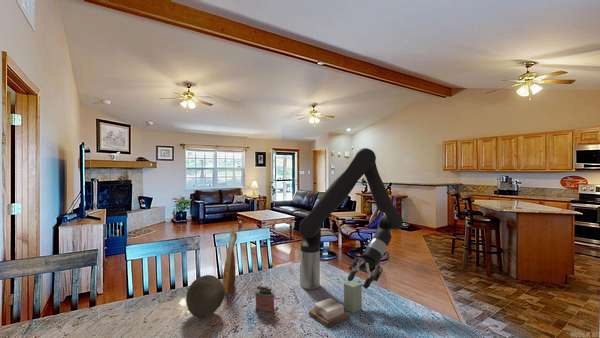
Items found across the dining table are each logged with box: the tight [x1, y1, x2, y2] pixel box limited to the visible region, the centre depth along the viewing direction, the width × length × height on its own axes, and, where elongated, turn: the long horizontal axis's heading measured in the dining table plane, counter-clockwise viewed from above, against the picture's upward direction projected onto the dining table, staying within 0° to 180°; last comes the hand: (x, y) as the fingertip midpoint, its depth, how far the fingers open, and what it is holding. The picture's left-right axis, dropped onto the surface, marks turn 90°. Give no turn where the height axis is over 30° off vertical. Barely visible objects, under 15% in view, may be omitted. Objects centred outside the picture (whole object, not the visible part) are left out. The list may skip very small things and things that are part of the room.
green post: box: [343, 279, 363, 313], centre depth 116 cm, size 5×5×10 cm
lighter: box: [254, 285, 275, 315], centre depth 114 cm, size 8×3×10 cm, turn 71°
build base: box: [308, 297, 350, 328], centre depth 110 cm, size 11×11×4 cm
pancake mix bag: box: [222, 225, 238, 295], centre depth 138 cm, size 7×19×28 cm, turn 12°
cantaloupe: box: [185, 274, 226, 319], centre depth 111 cm, size 14×14×15 cm
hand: (356, 284), depth 118 cm, fingers open, 8 cm apart
